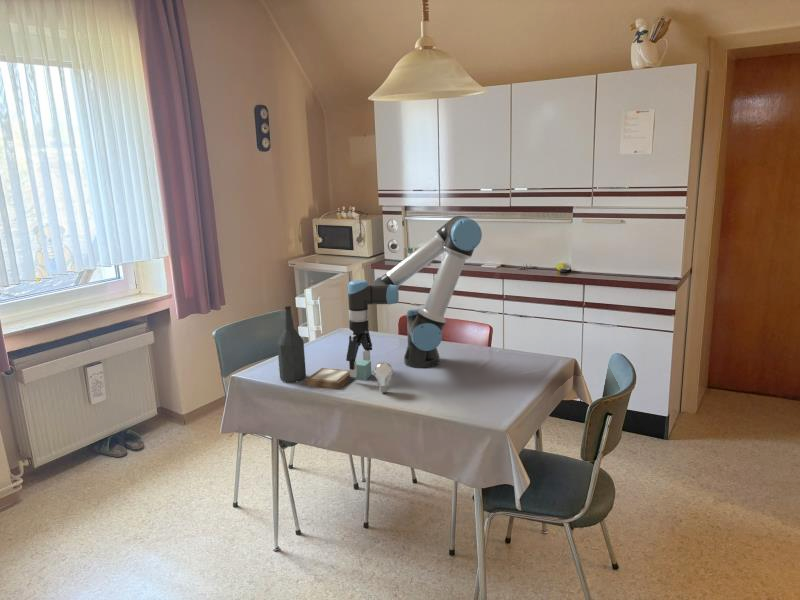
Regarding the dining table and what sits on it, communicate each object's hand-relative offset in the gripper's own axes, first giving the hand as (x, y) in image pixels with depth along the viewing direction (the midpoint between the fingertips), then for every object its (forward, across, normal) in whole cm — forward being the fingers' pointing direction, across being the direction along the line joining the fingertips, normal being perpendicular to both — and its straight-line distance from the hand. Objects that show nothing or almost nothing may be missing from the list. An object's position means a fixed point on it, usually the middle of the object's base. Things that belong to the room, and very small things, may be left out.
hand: (360, 371), depth 244 cm
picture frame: (+2, +8, -10) cm, 13 cm away
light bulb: (+2, +14, +16) cm, 21 cm away
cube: (+2, 0, 0) cm, 2 cm away
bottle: (+3, +9, -26) cm, 27 cm away
